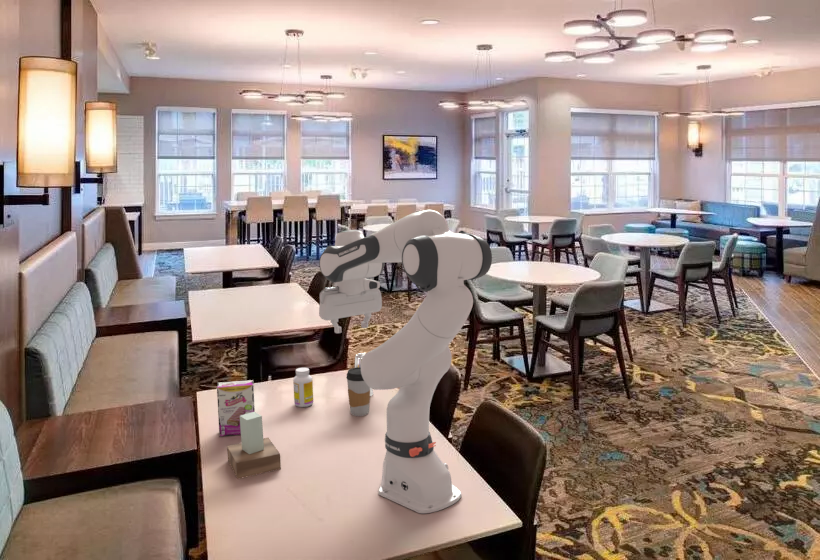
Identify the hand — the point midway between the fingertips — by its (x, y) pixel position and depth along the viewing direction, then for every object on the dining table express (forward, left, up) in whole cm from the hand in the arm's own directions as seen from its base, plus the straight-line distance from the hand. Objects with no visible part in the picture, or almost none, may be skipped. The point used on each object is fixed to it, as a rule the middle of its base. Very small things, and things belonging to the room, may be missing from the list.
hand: (351, 330), depth 190 cm
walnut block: (+4, +31, -35) cm, 47 cm away
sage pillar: (+4, +31, -30) cm, 44 cm away
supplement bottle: (+36, -2, -35) cm, 50 cm away
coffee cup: (+17, -13, -35) cm, 41 cm away
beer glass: (+30, -24, -35) cm, 52 cm away
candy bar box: (+28, +26, -35) cm, 52 cm away
